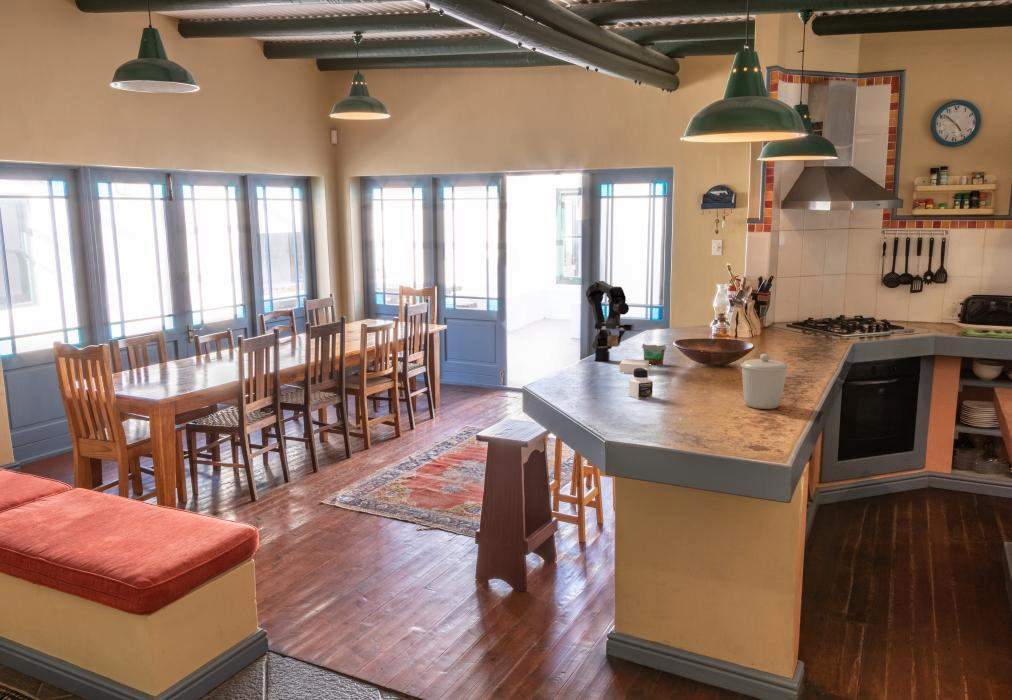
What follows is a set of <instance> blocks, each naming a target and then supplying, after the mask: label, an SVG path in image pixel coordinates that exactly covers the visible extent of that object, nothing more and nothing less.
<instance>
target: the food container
mask: <svg viewBox="0 0 1012 700" xmlns="http://www.w3.org/2000/svg"><path fill="white" fill-rule="evenodd" d="M641 348H642V351H643V360H649V364H651V365H650V366H660V365H659V364H662V365H663V364H664V357H665V352H666V350H667V346H666V344H664V345H663V344H662V345H656V344H645V343H643V344H642V346H641Z"/></svg>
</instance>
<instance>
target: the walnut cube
mask: <svg viewBox="0 0 1012 700" xmlns="http://www.w3.org/2000/svg"><path fill="white" fill-rule="evenodd" d="M618 340H619V334H611V335H609V336H608V343H607V346H612V347H613V348H614V347H616V348H617V347H619V346H621V343H620V344H618Z"/></svg>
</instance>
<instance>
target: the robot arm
mask: <svg viewBox="0 0 1012 700" xmlns="http://www.w3.org/2000/svg"><path fill="white" fill-rule="evenodd" d="M604 295H606V297H607V299H608V300H607V303H608V315H607V319H606V321H605V315H604V311H603V305H602V302H603V299H604ZM585 296H586V298H587V301H588V303H589V305H591V307H592V312H593V317H594V322H595V323H594V330H596V333H595V336H594V338H595V339H594V341H593V343H592V349H594V350H595V351H594V352H595V355H594V356H595V358H594V359H593V361H594V362H603V361H607V360H608V361H610V356H611V355H610V353H611V352H610V350H612V348H613V346H607V343H608V336H609V335H612V332H611V330H610V329H612V330H616V329H619V330H618V335H619V340H618V344H620V345H621V342H622V339H623V336H624V335H625V333H626V332H631V331H633V330H634V329H635V324H634V323H624V324H621V315H624V316H625V315H626V314H628V312H629V311H630V307H629V305H628V304H627V303H626V302H627V297H626V295H625V292H624V289H623V287H622V286H613V285H611V284H609V283H607V282H606V281H604V280H596V281H594V283H593V284H592V285H590V286H589V287H588V288H587V290H586V291H585ZM608 361H607V362H608Z"/></svg>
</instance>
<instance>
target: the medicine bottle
mask: <svg viewBox="0 0 1012 700" xmlns="http://www.w3.org/2000/svg"><path fill="white" fill-rule="evenodd" d="M632 377H633V378H631V379H628V397H630V396H632V397H631V398H633V397H634V398H633V399H636V398H637V399H636V400H641V399H640V398H646V399H648V398H647V397H652V398H653V384H654V383H653V380H650V379H649V370H648V369H646V368H636V369H634V374H633V376H632Z"/></svg>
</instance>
